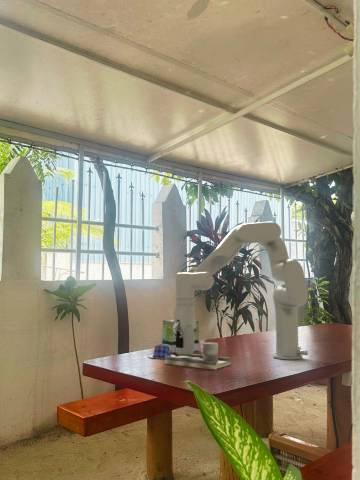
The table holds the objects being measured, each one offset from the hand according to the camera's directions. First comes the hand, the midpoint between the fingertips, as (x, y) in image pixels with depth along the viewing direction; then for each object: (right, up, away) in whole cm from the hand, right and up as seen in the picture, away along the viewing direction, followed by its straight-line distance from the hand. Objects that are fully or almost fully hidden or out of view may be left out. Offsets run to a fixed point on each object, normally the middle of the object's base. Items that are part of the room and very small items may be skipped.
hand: (185, 346), depth 181 cm
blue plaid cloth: (-10, -9, +14) cm, 19 cm away
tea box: (-2, -10, +33) cm, 35 cm away
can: (0, -3, 0) cm, 3 cm away
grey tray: (+5, -6, -4) cm, 9 cm away
